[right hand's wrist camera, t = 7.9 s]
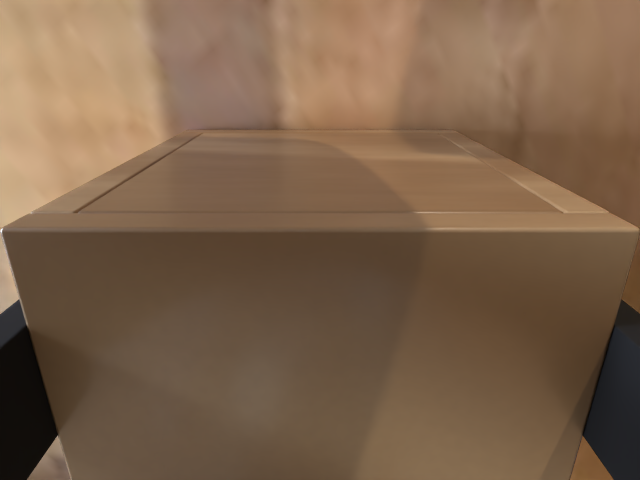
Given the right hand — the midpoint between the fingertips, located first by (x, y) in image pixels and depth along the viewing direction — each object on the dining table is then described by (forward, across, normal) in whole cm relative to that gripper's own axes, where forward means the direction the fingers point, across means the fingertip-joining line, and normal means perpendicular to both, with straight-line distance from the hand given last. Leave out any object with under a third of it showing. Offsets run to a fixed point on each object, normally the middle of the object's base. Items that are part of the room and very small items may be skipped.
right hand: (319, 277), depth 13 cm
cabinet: (+7, 0, -7) cm, 10 cm away
